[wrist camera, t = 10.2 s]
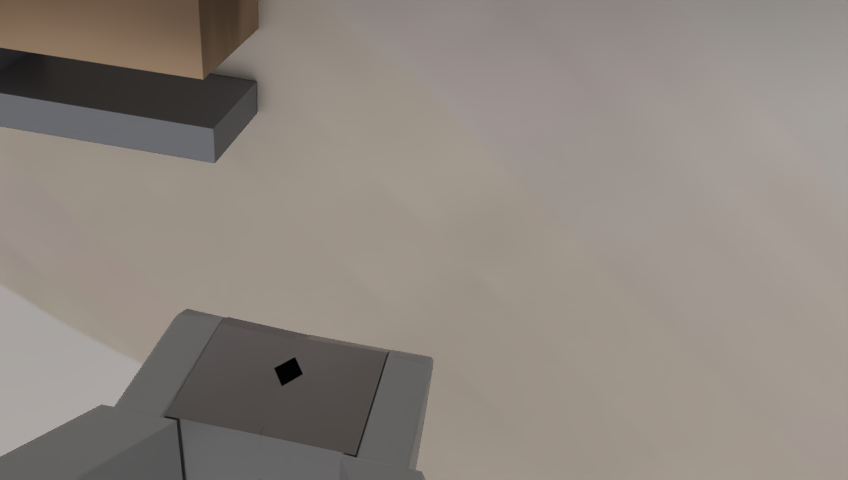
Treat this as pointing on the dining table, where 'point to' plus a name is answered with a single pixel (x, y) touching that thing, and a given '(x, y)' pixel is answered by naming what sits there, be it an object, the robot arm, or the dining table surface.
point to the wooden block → (131, 31)
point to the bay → (124, 105)
